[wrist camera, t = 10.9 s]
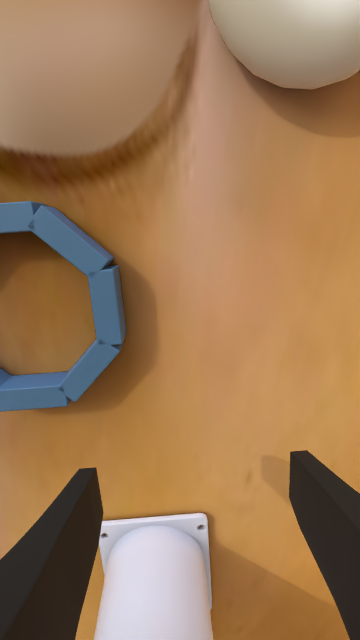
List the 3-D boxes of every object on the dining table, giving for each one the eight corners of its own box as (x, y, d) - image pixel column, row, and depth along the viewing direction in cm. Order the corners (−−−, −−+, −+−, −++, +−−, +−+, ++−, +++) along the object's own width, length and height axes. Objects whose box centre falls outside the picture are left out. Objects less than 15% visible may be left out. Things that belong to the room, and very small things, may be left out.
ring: (132, 386, 21) (129, 402, 19) (-45, 399, 21) (-67, 417, 19) (111, 199, 18) (104, 196, 16) (-98, 213, 18) (-130, 211, 16)
